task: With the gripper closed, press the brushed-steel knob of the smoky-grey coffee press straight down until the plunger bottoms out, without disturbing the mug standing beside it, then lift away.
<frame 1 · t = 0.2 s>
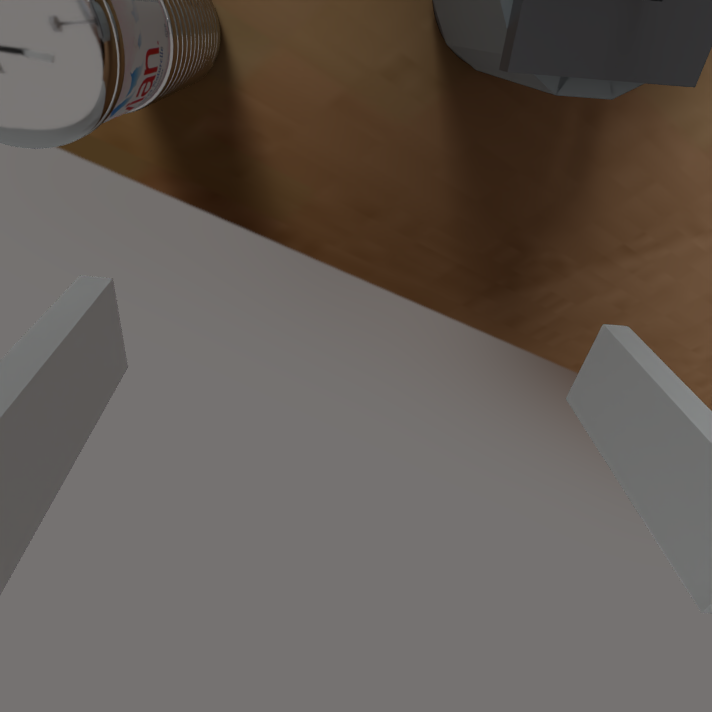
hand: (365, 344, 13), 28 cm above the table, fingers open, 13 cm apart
water bottle: (171, 26, 32), on the table
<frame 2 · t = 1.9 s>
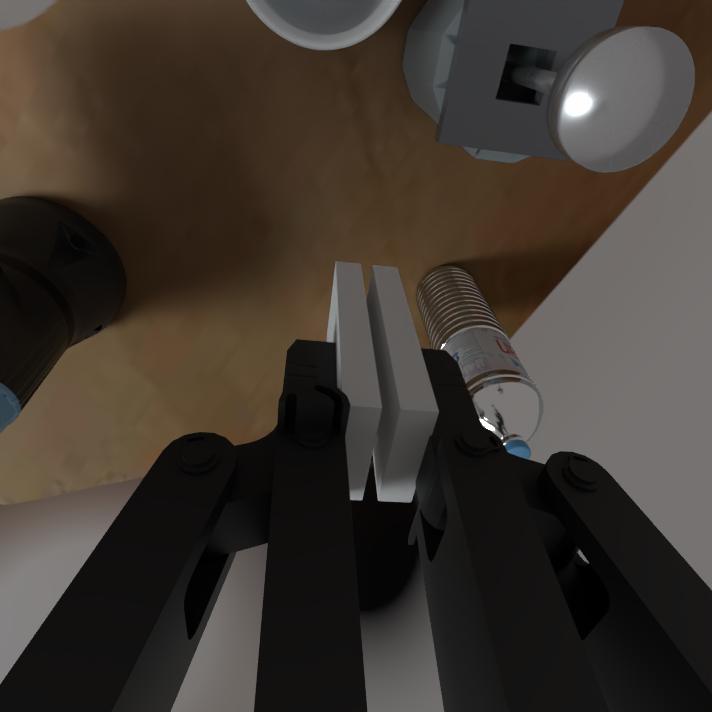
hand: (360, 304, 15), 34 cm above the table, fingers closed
water bottle: (444, 289, 54), on the table
carafe: (460, 56, 41), on the table
plunger: (548, 82, 25), point 20 cm above the table, slide at 9.0 cm
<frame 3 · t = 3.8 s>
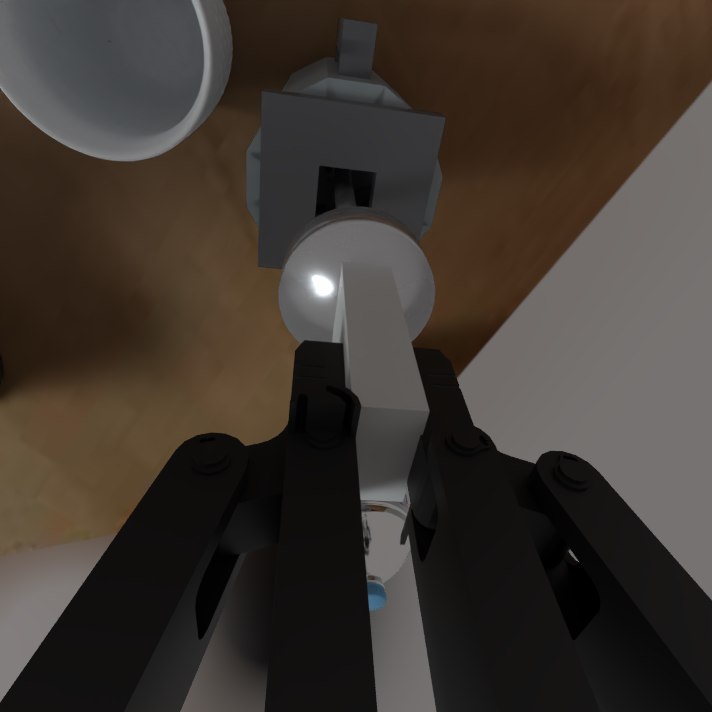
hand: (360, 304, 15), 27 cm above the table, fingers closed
water bottle: (351, 364, 50), on the table
mug: (170, 14, 33), on the table
carafe: (337, 133, 37), on the table
plunger: (347, 215, 22), point 19 cm above the table, slide at 8.2 cm, touching gripper
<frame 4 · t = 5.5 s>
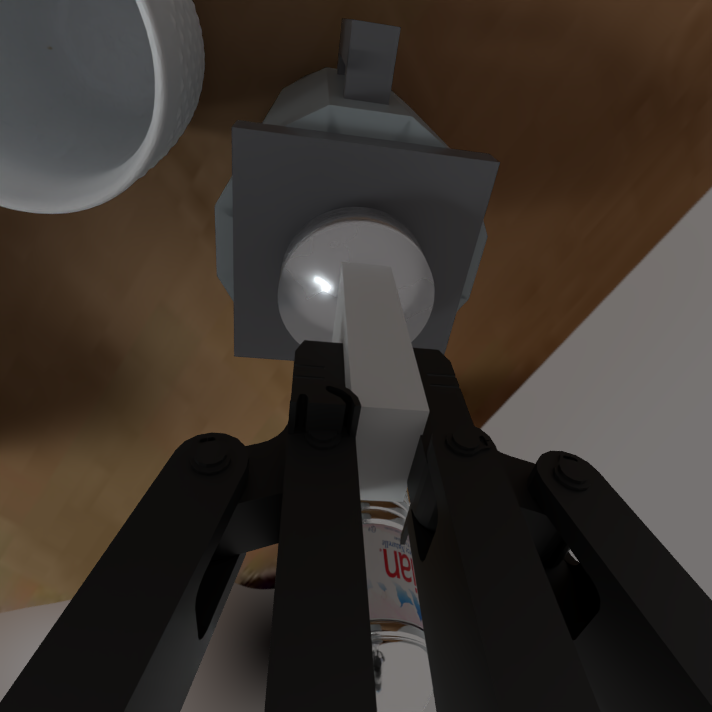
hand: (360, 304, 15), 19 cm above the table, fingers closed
water bottle: (355, 418, 44), on the table
mug: (129, 13, 26), on the table
carafe: (339, 160, 30), on the table
plunger: (346, 216, 22), point 11 cm above the table, slide at -0.1 cm, touching gripper
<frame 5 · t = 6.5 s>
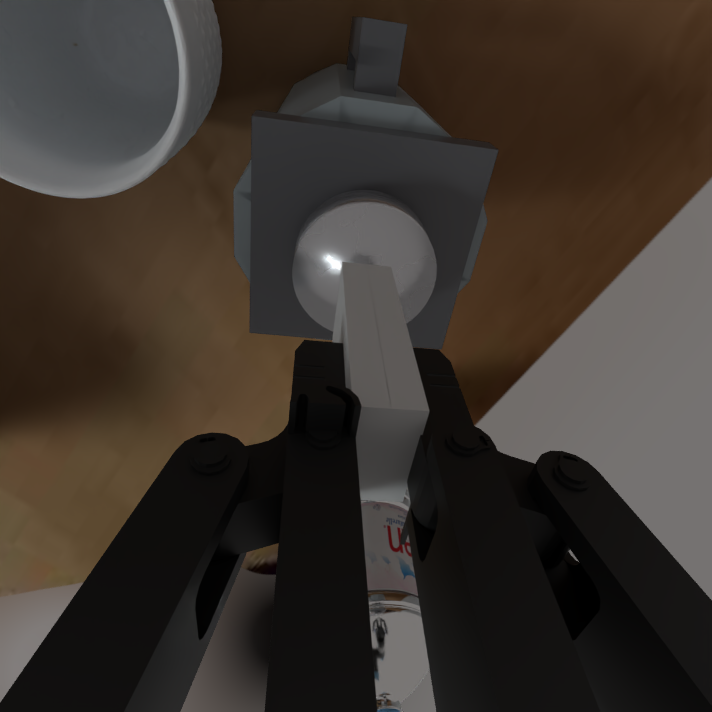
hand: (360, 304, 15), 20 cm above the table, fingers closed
water bottle: (361, 405, 45), on the table
mug: (150, 12, 27), on the table
carafe: (347, 152, 32), on the table
plunger: (354, 203, 23), point 10 cm above the table, slide at -0.1 cm
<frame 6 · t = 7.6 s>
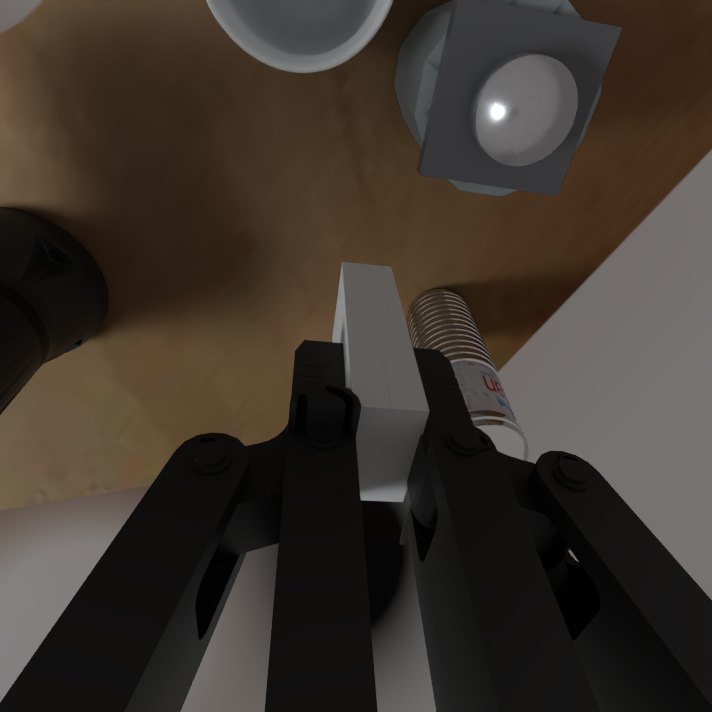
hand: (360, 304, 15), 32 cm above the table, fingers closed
water bottle: (436, 313, 52), on the table
carafe: (456, 76, 39), on the table
plunger: (487, 92, 30), point 10 cm above the table, slide at -0.1 cm
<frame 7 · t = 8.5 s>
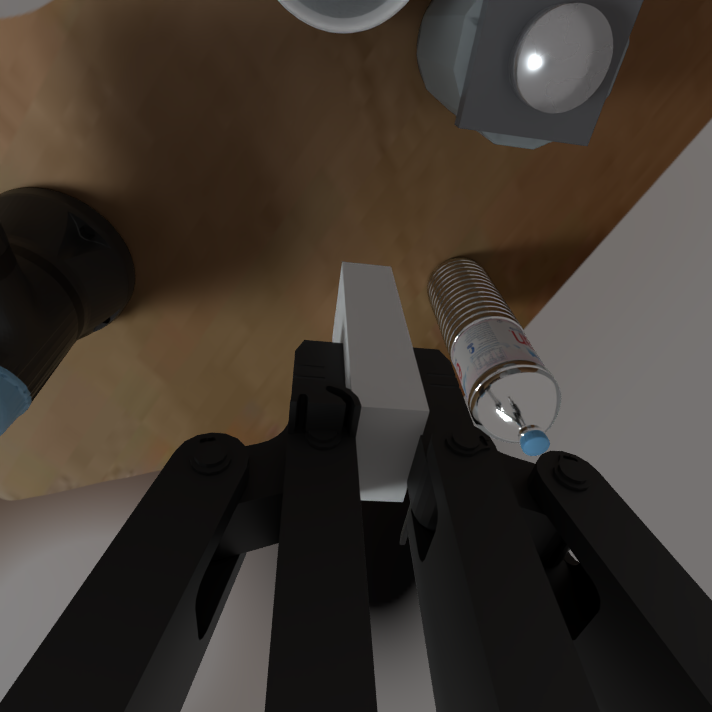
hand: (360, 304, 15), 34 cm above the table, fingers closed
water bottle: (455, 282, 54), on the table
carafe: (475, 44, 41), on the table
plunger: (515, 52, 32), point 10 cm above the table, slide at -0.1 cm
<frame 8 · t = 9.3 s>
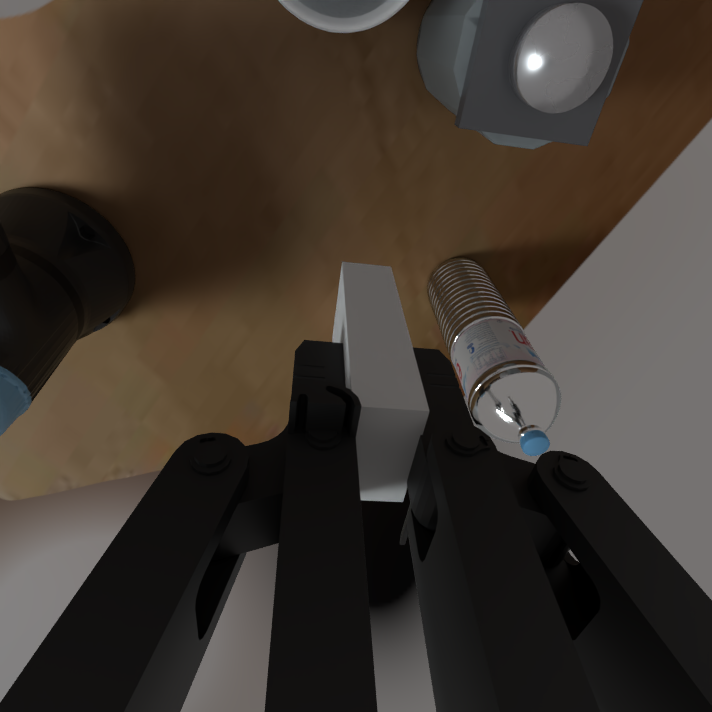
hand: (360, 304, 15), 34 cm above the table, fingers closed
water bottle: (455, 282, 54), on the table
carafe: (475, 44, 41), on the table
plunger: (515, 52, 32), point 10 cm above the table, slide at -0.1 cm
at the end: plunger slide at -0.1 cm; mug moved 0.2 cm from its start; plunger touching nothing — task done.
